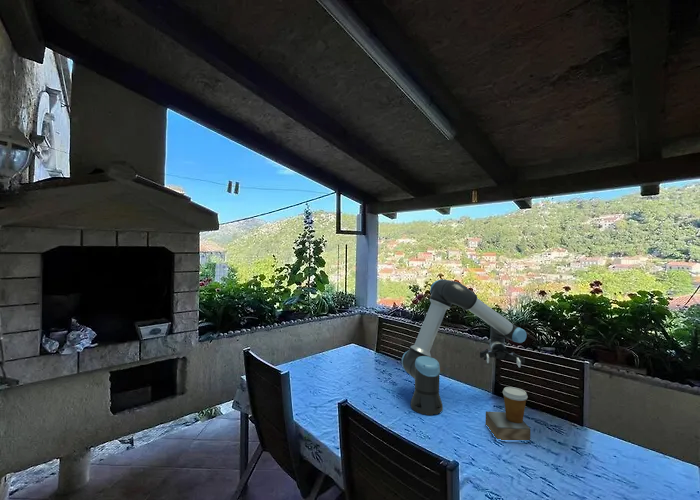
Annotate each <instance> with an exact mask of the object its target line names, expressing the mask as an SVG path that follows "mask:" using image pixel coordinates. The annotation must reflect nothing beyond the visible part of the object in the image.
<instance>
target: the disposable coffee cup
mask: <svg viewBox="0 0 700 500" xmlns="http://www.w3.org/2000/svg"><path fill="white" fill-rule="evenodd" d="M502 394H503V399H504V400H503V402H504V409H505V411H504V412H506V419H507V420H509V421H511V422H514V423H522V422H523V421H524V416H525V409H526V405H527V404H526V403H527V399H528V394H527V392H526V391H525V390H524V389H522V388H519V387H513V386H506V387H504V388H503V390H502Z"/></svg>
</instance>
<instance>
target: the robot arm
mask: <svg viewBox="0 0 700 500" xmlns="http://www.w3.org/2000/svg"><path fill="white" fill-rule="evenodd" d="M429 289H430V290H429V292H430V297H429V302H430V305H429V308H428V310H427V312H426V316H425V317H424V320H423V322H422V325H421V327H420V330H419V332H418V335H417V337H416V339H415V342H414V344H412V345H410V346H409V349H408V350H407V351H405V352H404V353H403V355H402V357H401V365H402V368H403V369H404V371H405V372H406V373H407V374H408V375H410V376H411V378H413V379H414V392H413V393H412V397H411V400H410V407H411V409H412V410H413V411H414V412H416V413H418V414H420V413H421V414H420V415H424V414H426V416H434V415H433V414H437V415H439V414H438V413H440V412H441V411H442V412H443V402H442V399H441V398H442V397H441V396H440V373H441V367H440V362H439V361H438V360H437V359H436V358H434V357H432V354H431V352H430V351H431V350H432V347H433V344H434V342H435V339H436V337H437V335H438V332H439V329H440V327H441V325H442V322H443V319H444V317H445V314H446V311H447V310H449V309H451V307H452V305H455V306H458V307H460V308H462V309H463V310H464V311H469V312H471V313H472V314H474V315H475V316H476V317H478V318H479V319H481V320H482V321H483V322H485V323H486V324H488V325H489V327H490V334H489V335H490V337H489V344H488V345H489V348H490V349H488V348H485V350H482V351H480V352H479V358H480V359H482V358H483V360H484V361H486V364H490V359H491V358H495V359H496V360H506V361H507V360H510V361H512V362H515V363H516V365H517V366H518V368H521V365H523V364H525V359H526V358H525V356H524V357H523V356H521V355H519V354H517V353H515V351H514V352H513V351H512V352H508V350H507V347H506V345H505V344H506V343H505V342H506V339H507V340H508V341H509V340H510V341H512V342H514V343H517V344H522V343H523V342H525V341H526V339H527V335H528V334H527V332H526V330H525V329H523V328H521V327H518V326H517V325H515V324H514V323H512V322H510V321H509V320H508V319H506V318H505V317H504V316H503V315H501V314H500V313H499V312H497V311H496V310H494V309H493V308H491V307H490V306H489V305H488V304H486V303H485V302H483V301H482V300H481V299H480V298H479V297H478V295H477V294H476V293H475V292H473V291H472V290H470V289H469V288H468V287H467V286H466V285H464V284H462V283H460V282H458V281H455V280H449V279H445V278H444V279H437V280H435V281H434V282H433V283H432V284H431V285H430V288H429ZM442 412H441V413H442ZM441 413H440V414H441Z"/></svg>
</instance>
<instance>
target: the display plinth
mask: <svg viewBox="0 0 700 500" xmlns="http://www.w3.org/2000/svg"><path fill="white" fill-rule="evenodd" d="M486 425H487V426H488V427H489V429H490V430H491V432H492V433H493V434H494V436H495V437H496V438H497V439H501V440H530V441H531V427H530V426H529V425H528V424H527V423H526V422H525V421H524V420H523V422H522V423H514V422H511V421H509V420H507V419H506V411H503V412H502V411H489V410H488V411H485V426H486ZM487 426H486V427H487ZM489 429H488V430H489ZM491 432H490V433H491Z"/></svg>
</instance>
